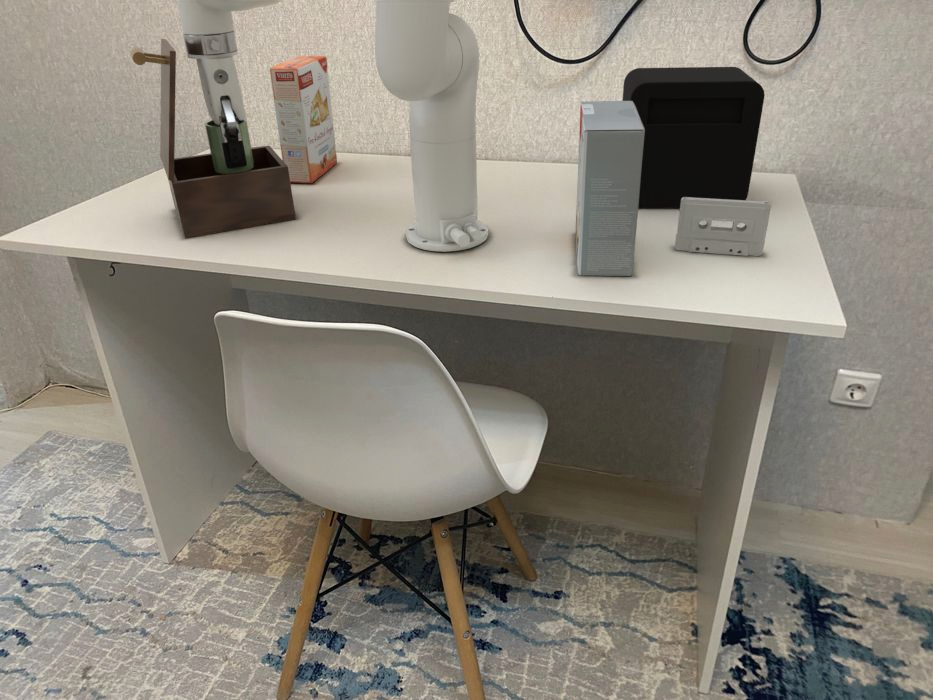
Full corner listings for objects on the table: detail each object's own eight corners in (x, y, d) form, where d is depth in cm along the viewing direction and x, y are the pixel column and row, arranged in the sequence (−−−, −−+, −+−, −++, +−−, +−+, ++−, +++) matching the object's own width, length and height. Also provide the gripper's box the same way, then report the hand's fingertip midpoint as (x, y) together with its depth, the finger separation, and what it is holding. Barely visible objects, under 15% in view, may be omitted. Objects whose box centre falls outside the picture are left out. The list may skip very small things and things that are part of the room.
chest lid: (166, 39, 116) (128, 33, 114) (175, 51, 105) (134, 45, 102) (165, 157, 124) (130, 154, 122) (174, 180, 112) (135, 178, 110)
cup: (257, 170, 121) (249, 123, 117) (217, 176, 119) (207, 128, 115) (250, 160, 126) (242, 115, 122) (211, 165, 124) (202, 120, 120)
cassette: (761, 252, 105) (771, 200, 101) (762, 257, 104) (772, 205, 100) (674, 246, 108) (680, 195, 104) (674, 251, 107) (680, 200, 103)
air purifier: (728, 181, 133) (746, 64, 123) (747, 209, 121) (768, 81, 111) (615, 181, 135) (623, 66, 125) (621, 208, 123) (631, 82, 113)
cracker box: (314, 184, 139) (298, 67, 128) (284, 183, 140) (266, 67, 130) (340, 163, 151) (327, 54, 140) (312, 162, 152) (297, 54, 141)
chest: (277, 194, 135) (269, 145, 130) (296, 219, 123) (288, 166, 119) (175, 210, 129) (163, 159, 124) (184, 238, 117) (171, 183, 112)
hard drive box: (574, 234, 113) (580, 100, 103) (624, 234, 113) (635, 99, 103) (576, 276, 100) (584, 127, 90) (634, 277, 99) (647, 127, 89)
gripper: (246, 50, 107) (266, 171, 116) (227, 36, 121) (246, 146, 130) (192, 55, 105) (217, 178, 114) (179, 40, 118) (202, 152, 127)
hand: (233, 160), depth 122 cm, fingers closed on cup, 6 cm apart
